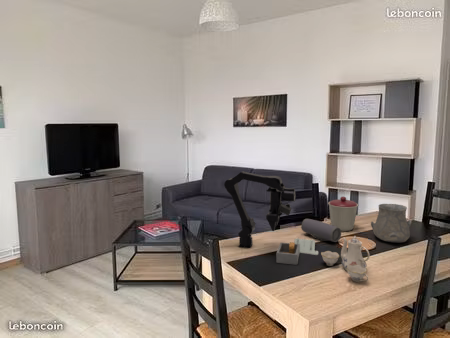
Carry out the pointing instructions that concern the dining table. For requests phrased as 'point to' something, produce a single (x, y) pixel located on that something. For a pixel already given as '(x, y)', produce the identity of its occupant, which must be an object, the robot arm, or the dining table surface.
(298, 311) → the dining table surface
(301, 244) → the metal bracket
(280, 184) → the robot arm
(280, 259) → the open box
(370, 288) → the dining table surface
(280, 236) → the dining table surface
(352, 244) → the chinaware
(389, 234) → the vessel
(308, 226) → the bluetooth speaker
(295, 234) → the dining table surface
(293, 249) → the wood grain brick
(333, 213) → the canister
